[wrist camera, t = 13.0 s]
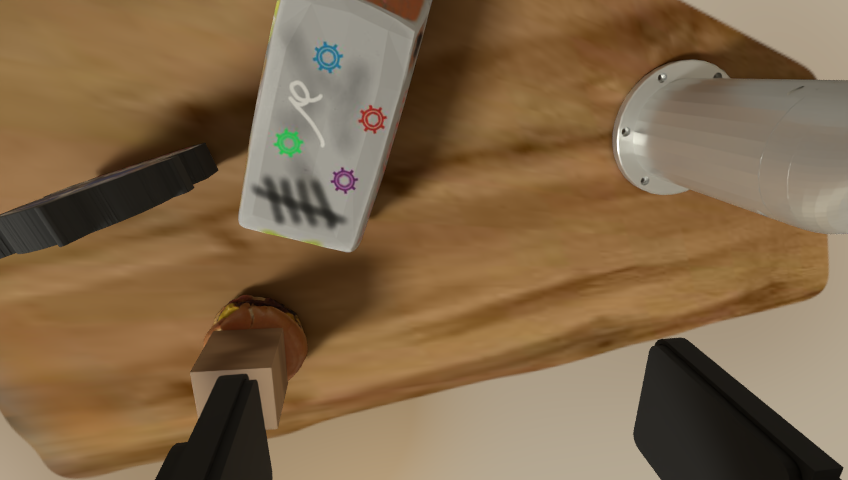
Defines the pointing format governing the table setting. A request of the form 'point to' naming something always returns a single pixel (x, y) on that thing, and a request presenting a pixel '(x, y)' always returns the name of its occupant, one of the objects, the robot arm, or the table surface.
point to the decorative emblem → (102, 201)
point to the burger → (265, 325)
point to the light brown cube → (245, 367)
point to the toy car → (328, 116)
